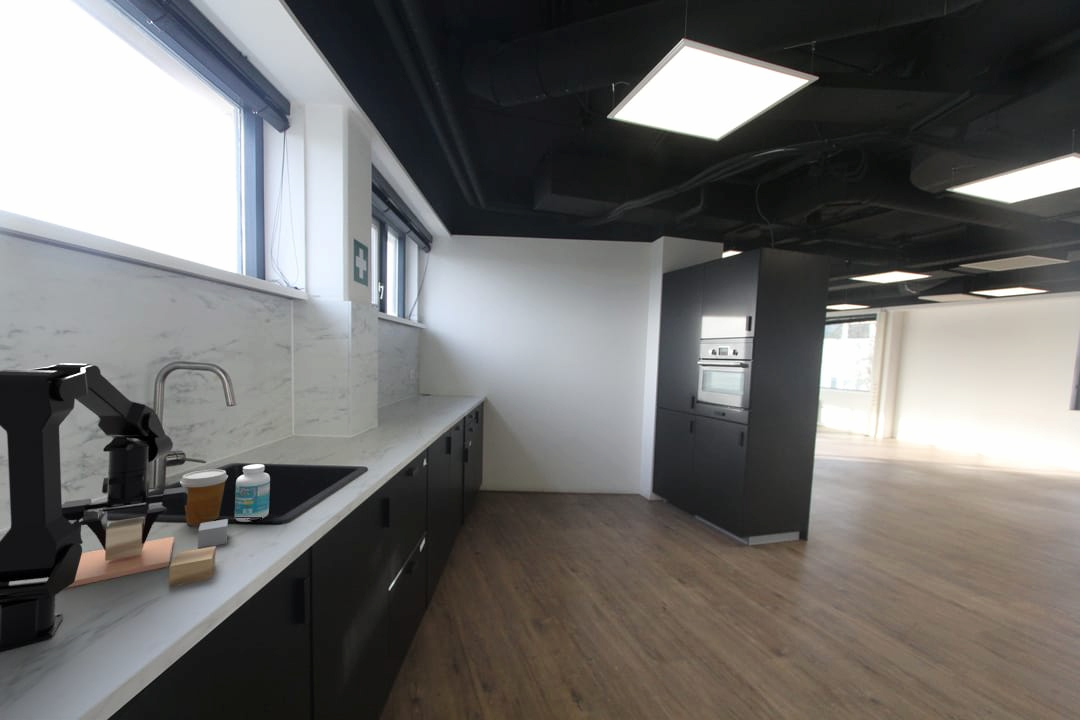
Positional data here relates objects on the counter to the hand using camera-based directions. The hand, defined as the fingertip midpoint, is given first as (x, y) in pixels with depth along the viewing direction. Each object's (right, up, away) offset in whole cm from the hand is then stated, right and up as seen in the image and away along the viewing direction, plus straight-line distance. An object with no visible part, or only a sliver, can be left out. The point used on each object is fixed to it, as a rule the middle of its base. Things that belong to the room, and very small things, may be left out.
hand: (125, 546), depth 83 cm
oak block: (+17, -4, -4) cm, 18 cm away
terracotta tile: (0, -3, 0) cm, 3 cm away
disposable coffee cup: (-2, -4, +22) cm, 22 cm away
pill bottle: (+8, -4, +25) cm, 26 cm away
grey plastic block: (+10, -4, +10) cm, 15 cm away
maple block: (0, -1, 0) cm, 1 cm away
